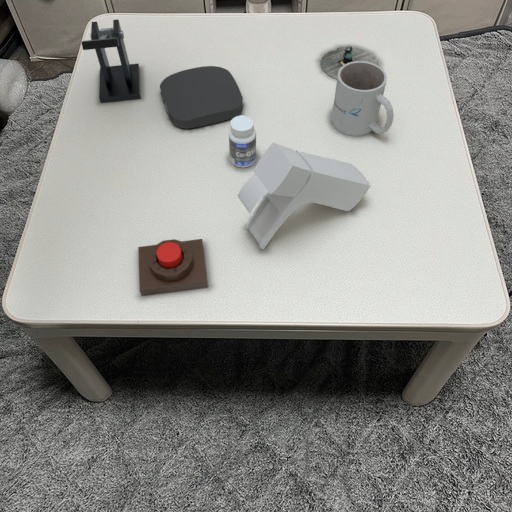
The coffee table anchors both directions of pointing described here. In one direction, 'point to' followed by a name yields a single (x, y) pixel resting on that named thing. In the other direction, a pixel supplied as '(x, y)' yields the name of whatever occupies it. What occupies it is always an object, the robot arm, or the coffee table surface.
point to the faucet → (296, 188)
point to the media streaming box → (201, 96)
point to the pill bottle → (242, 141)
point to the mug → (360, 99)
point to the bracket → (116, 70)
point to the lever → (102, 40)
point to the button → (169, 255)
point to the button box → (172, 269)
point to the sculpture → (344, 59)
